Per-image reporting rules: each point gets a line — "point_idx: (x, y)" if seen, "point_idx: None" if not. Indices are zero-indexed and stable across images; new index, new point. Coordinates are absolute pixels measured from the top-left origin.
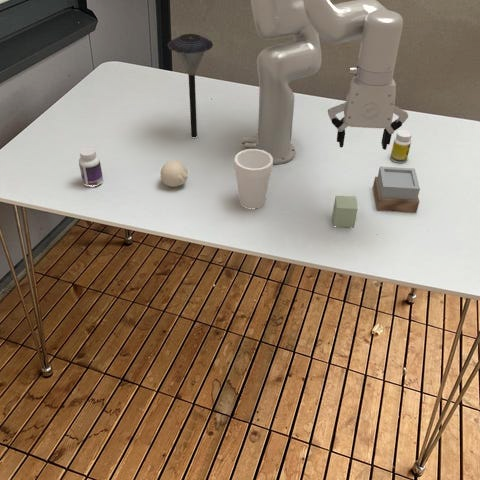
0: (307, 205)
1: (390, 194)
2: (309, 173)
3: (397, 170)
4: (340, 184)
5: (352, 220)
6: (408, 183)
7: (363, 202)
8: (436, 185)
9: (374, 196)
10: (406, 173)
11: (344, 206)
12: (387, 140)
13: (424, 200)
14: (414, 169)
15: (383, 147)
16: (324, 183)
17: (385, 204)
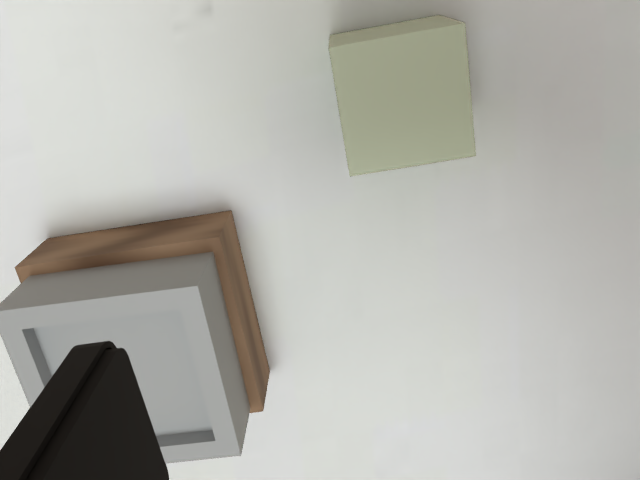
0: (582, 165)
1: (160, 268)
2: (569, 407)
3: None
4: (419, 361)
5: (346, 36)
6: None
7: (301, 256)
8: (2, 442)
9: (254, 310)
10: None
11: (414, 51)
12: (10, 445)
13: None
14: None
15: (109, 359)
16: (496, 353)
17: (188, 230)
